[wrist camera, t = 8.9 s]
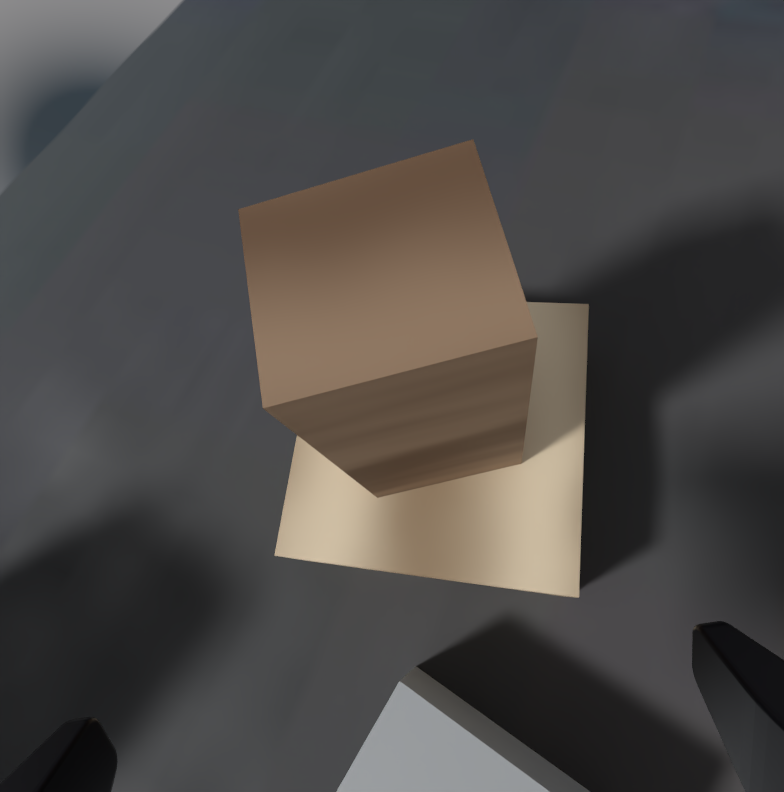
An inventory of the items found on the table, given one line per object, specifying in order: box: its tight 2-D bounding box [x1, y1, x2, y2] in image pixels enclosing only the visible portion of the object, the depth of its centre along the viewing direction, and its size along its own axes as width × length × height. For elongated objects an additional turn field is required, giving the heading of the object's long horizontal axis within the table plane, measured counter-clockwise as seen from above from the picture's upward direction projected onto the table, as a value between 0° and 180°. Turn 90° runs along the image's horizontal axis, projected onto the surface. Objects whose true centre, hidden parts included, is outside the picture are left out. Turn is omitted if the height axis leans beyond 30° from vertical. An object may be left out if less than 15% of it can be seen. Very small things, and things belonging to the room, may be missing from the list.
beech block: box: [275, 302, 589, 598], centre depth 22 cm, size 10×10×4 cm
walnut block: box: [238, 140, 538, 498], centre depth 16 cm, size 4×5×10 cm
